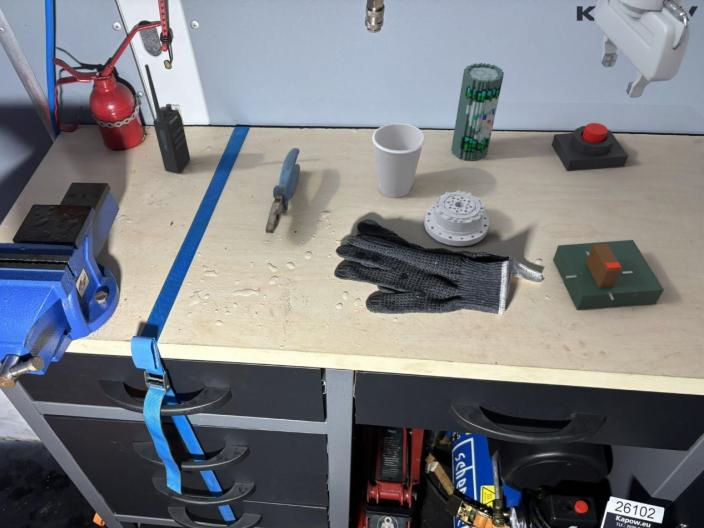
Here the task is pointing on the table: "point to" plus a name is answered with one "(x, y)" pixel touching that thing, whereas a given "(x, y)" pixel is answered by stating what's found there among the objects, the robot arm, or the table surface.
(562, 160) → the switch block
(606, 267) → the handle
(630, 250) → the panel
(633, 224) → the table surface
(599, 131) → the button
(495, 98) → the can
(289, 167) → the pliers
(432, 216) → the mechanical component
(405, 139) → the dixie cup
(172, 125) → the walkie-talkie
